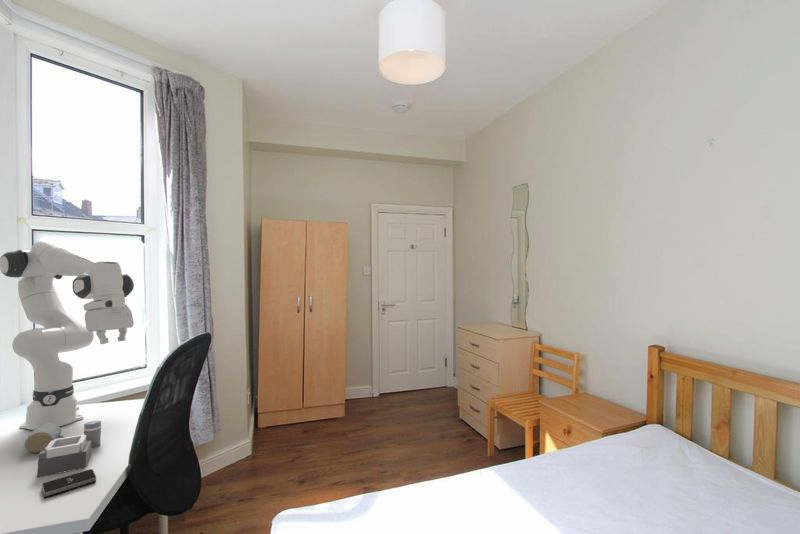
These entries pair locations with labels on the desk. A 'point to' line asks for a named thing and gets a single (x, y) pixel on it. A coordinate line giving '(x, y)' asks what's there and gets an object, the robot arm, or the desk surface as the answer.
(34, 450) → the ceramic mug
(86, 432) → the lens
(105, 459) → the desk surface
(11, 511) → the desk surface
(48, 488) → the external hard drive
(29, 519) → the desk surface
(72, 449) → the camera body
